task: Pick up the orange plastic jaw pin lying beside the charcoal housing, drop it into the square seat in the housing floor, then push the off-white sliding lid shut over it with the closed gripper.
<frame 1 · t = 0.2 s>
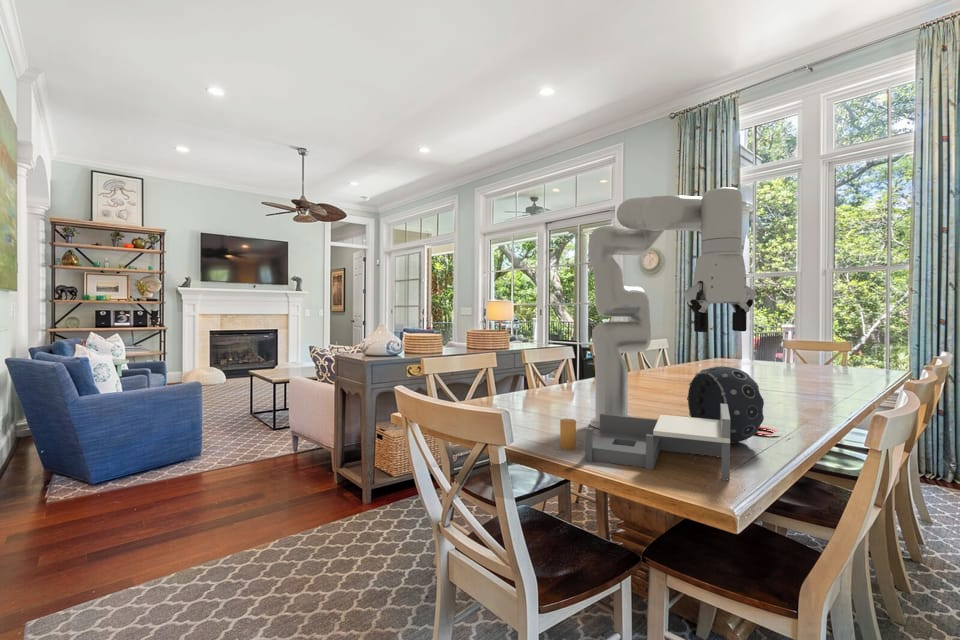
hand: (720, 331, 99), 31 cm above the table, tool pointing down, fingers open, 9 cm apart
tow hook: (761, 433, 134), on the table
studded black wheel: (723, 442, 126), on the table
jaw pin: (568, 447, 121), on the table
lid: (691, 418, 108), point 10 cm above the table, slide at 15.0 cm
housing: (624, 454, 115), on the table
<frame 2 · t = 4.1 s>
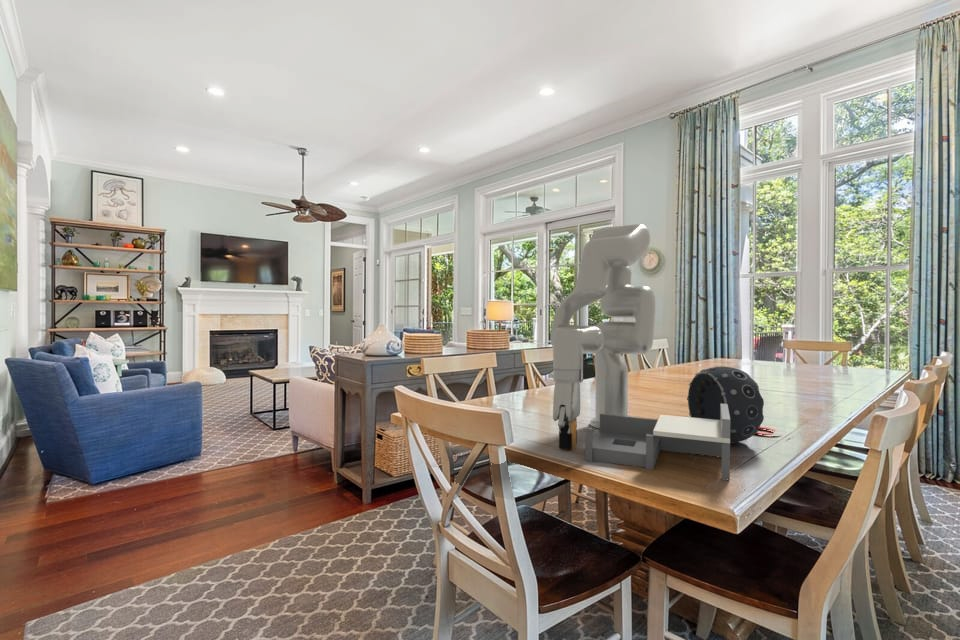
hand: (568, 445, 121), 1 cm above the table, tool pointing down, fingers closed on jaw pin, 4 cm apart
jaw pin: (568, 447, 121), on the table, touching gripper
everything else where it was.
when the fingers open (5 cm above the table, at t = 9.2 s): jaw pin drops 4 cm, resting in housing.
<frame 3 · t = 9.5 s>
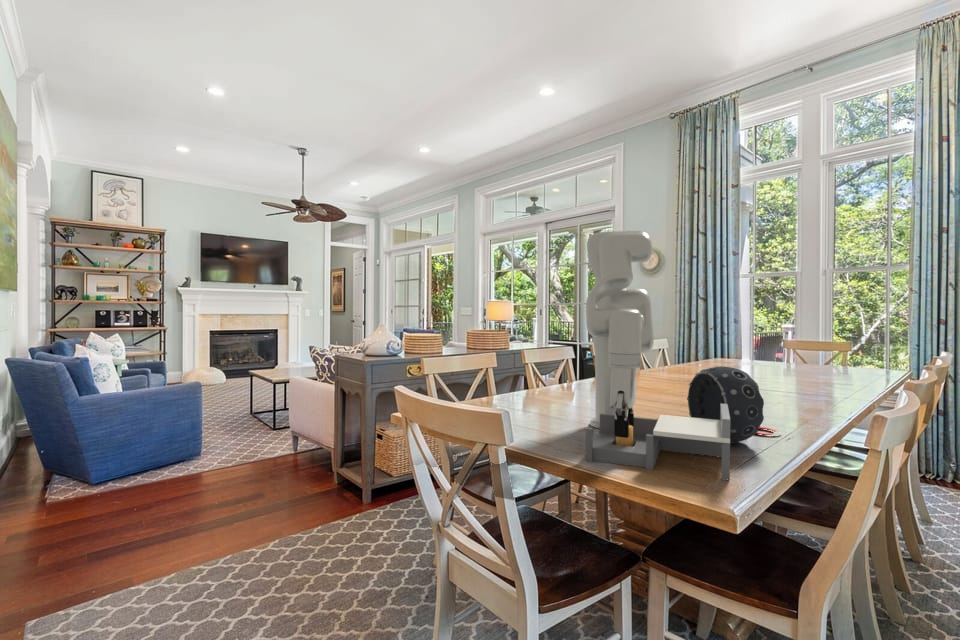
hand: (624, 432, 115), 6 cm above the table, tool pointing down, fingers open, 7 cm apart
jaw pin: (624, 454, 115), resting in housing
everything else where it was.
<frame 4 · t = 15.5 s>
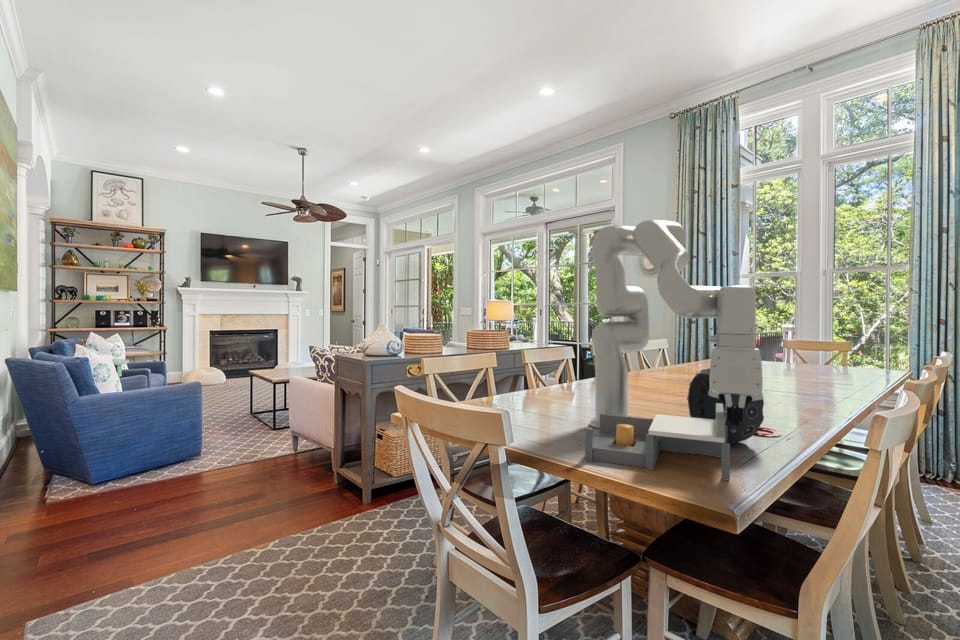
hand: (734, 424, 104), 10 cm above the table, tool pointing down, fingers closed
lid: (687, 418, 109), point 10 cm above the table, slide at 14.0 cm, touching gripper
everything else where it was.
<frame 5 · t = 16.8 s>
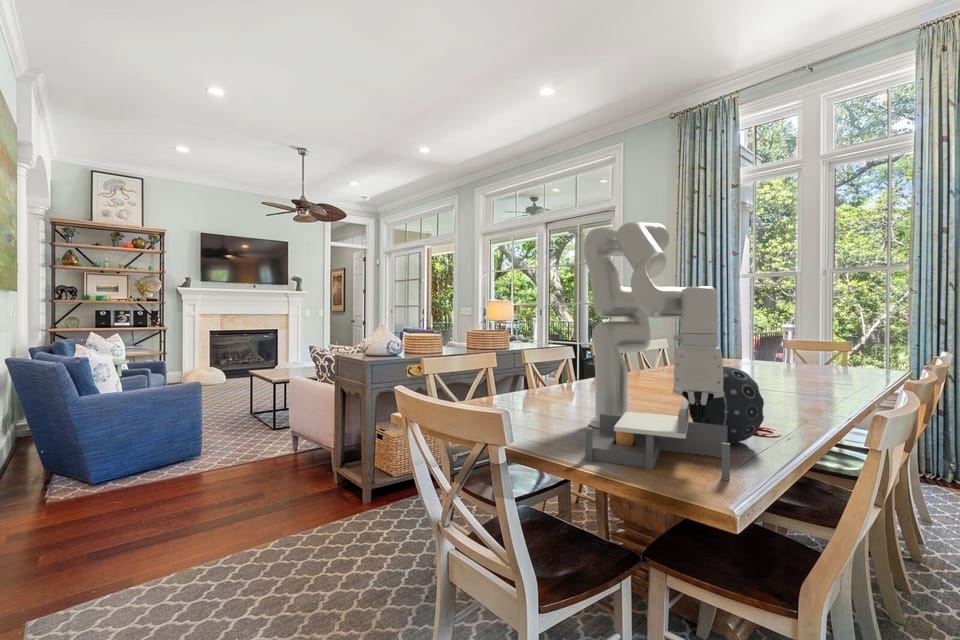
hand: (697, 420, 108), 10 cm above the table, tool pointing down, fingers closed
lid: (652, 415, 112), point 10 cm above the table, slide at 6.5 cm, touching gripper
everything else where it was.
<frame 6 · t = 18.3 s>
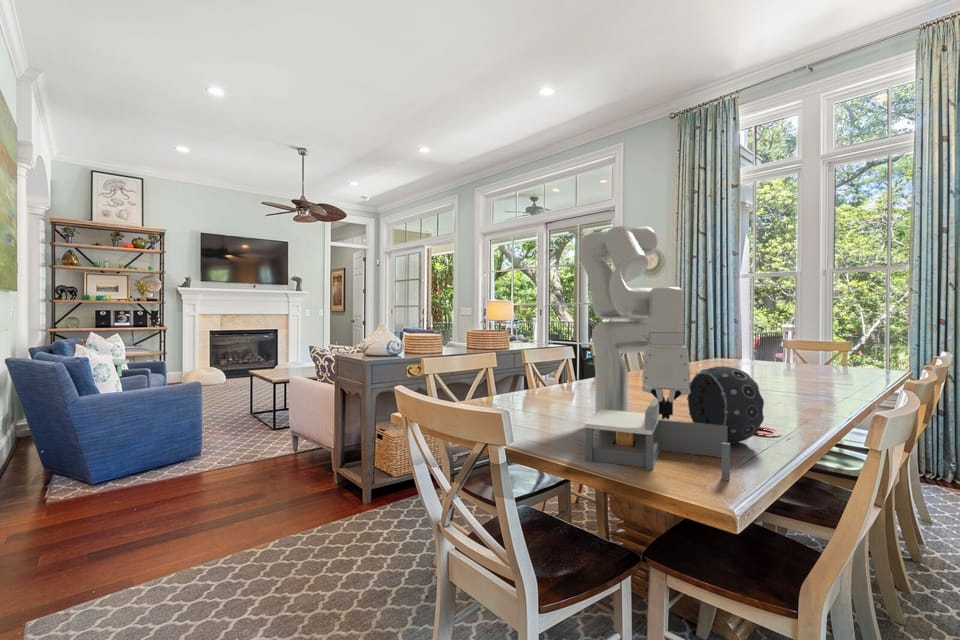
hand: (665, 417, 111), 10 cm above the table, tool pointing down, fingers closed
lid: (623, 412, 115), point 10 cm above the table, slide at -0.2 cm, touching gripper
everything else where it was.
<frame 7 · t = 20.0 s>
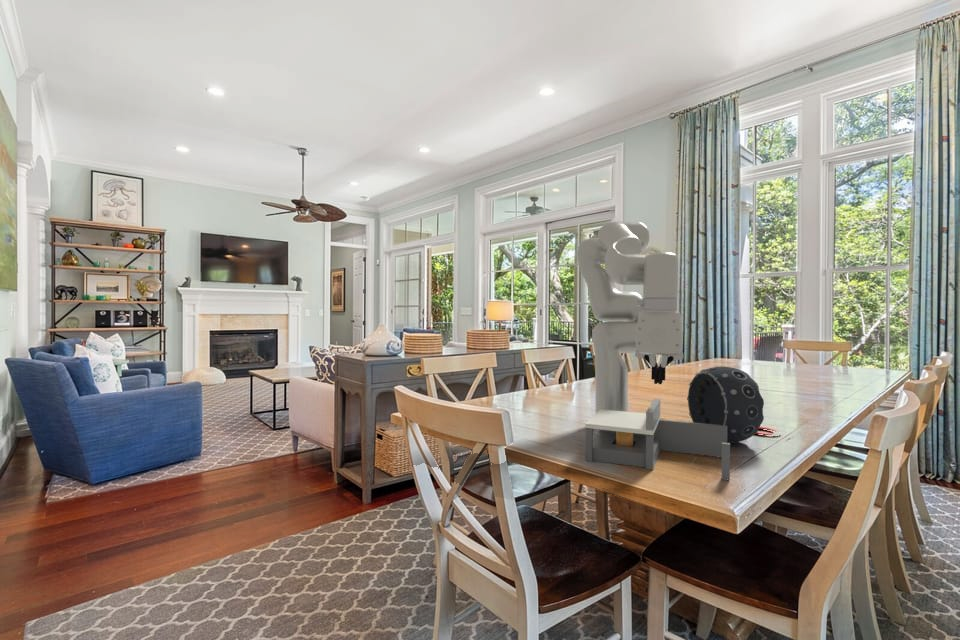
hand: (658, 383, 112), 18 cm above the table, tool pointing down, fingers closed
lid: (624, 412, 115), point 10 cm above the table, slide at 0.0 cm
everything else where it was.
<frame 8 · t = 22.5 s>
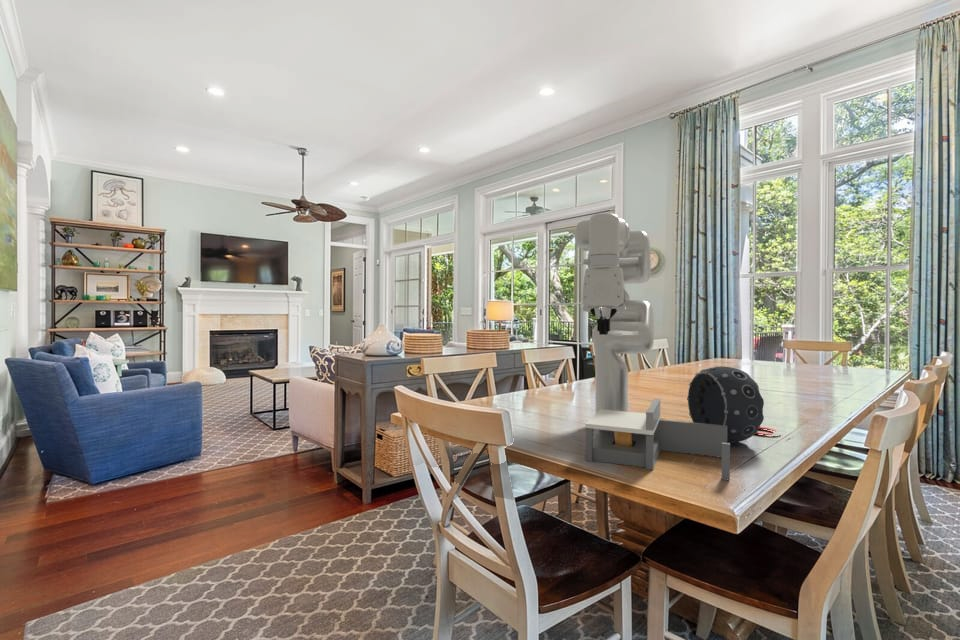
hand: (603, 334, 121), 29 cm above the table, tool pointing down, fingers closed
nothing on the table moved.
at the end: jaw pin 0.2 cm from the target spot, resting in housing; lid slide at 0.0 cm; jaw pin tilted 4° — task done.
